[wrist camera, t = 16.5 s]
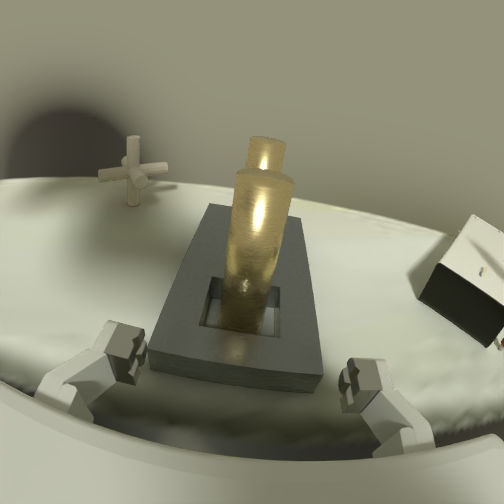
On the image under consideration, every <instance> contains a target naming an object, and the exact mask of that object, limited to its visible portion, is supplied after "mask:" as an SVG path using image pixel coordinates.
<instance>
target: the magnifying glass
mask: <svg viewBox="0 0 504 504" xmlns="http://www.w3.org/2000/svg"><path fill="white" fill-rule="evenodd" d="M503 349H504V338H503V339H502V341H501V345H500V346H499V350H500V351H501V350H503Z"/></svg>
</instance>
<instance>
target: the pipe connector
mask: <svg viewBox="0 0 504 504" xmlns="http://www.w3.org/2000/svg"><path fill="white" fill-rule="evenodd" d="M139 160H140V136H128V137H127V156H125V157H123V159H122V161H121V163H122V167H115V168H108V169H101V170H98V178H99V183H100V182H107V181H114V180H120V179H127V201H128V205H129V206H137V205H139V204H140V197H139V189H143V188H145V187H146V186H147V185H148V182H149V181H148V178H147V177H146V176H151V175H159V174H167V173H168V164H167V162H158V163H148V164H139Z"/></svg>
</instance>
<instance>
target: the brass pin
mask: <svg viewBox="0 0 504 504" xmlns="http://www.w3.org/2000/svg"><path fill="white" fill-rule="evenodd" d="M294 184H295V183H294V180H293V179H291V178H290V177H289V176H287V175H285V174H282V173H279V172H276V171H272V170H268V169H261V168H246V169H242V170H239V171H238V172H237V177H236V184H235V190H234V198H233V205H232V213H231V220H230V228H229V236H228V244H227V252H226V260H225V268H224V277H223V285H222V294H221V303H220V311H219V321H218V328H219V329H221V330H227V331H234V332H240V333H247V334H254V335H259V333H260V329H261V325H262V321H263V317H264V313H265V309H266V305H267V301H268V297H269V293H270V289H271V284H272V280H273V276H274V272H275V268H276V264H277V259H278V255H279V251H280V246H281V242H282V238H283V233H284V229H285V225H286V220H287V216H288V211H289V207H290V203H291V198H292V193H293V189H294Z"/></svg>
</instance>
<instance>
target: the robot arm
mask: <svg viewBox="0 0 504 504" xmlns="http://www.w3.org/2000/svg"><path fill="white" fill-rule="evenodd" d="M144 337H145V331H144V329H142V328H138V327H134V326H130V325H126V324H123V323H119V322H115V321H111V320H108V321H107V322H106V323H105V325H104V327H103V329H102V330H101V332H100V334H99V336H98V338H97V340H96V342H95V343H94V345H93V347H92V349H87V350H85V351H83V352H82V353H80V354H78V355H77V356H75V357H73V358H72V359H70V360H68V361H66V362H65V363H63V364H61V365H60V366H58V367H56V368H55V369H53V370H51V371H50V372H48V373H46V374H45V376H44V378H43V380H42V382H41V384H40V385H39V387H38V389H37V391H36V393H35V395H34V397H33V398H32V397H30V396H28V395H26V394H24V393H22V392H20V391H18V390H16V389H15V388H13V387H11V386H9V385H7V384H5V383H4V382H2V381H0V504H504V442H503V441H502V440H501V439H500V438H499V437H498V436H496V435H495V434H488V435H485V436H482V437H478V438H475V439H472V440H468V441H465V442H461V443H457V444H453V445H449V446H444V447H440V448H436V447H435V443H434V438H433V434H432V430H431V427H430V424H429V423H428V422H427V421H426V420H425V418H424V417H423V416H422V415H421V414H420V413H419V412H418V411H417V410H416V409H415V408H414V407H413V406H412V405H411V404H410V403H409V402H408V401H407V400H406V399H405V398H404V397H403V396H402V395H401V394H400V393H399V392H398V391H397V390H394V388H393V384H392V381H391V377H390V374H389V370H388V367H387V363H386V361H385V359H372V358H350V359H349V360H348V362H347V367H346V368H345V369H343V370H342V372H341V374H340V377H339V384H338V386H339V391H340V392H341V393H342V394H343V396H342V398H341V399H340V401H341V408H342V413H361V414H360V415H361V416H362V417H363V419H364V420H365V422H366V423H367V424H368V426H369V427H370V429H371V430H372V431H373V433H374V434H375V436H376V437H377V438H378V440H379V441H380V443H381V444H382V445H381V446H380V447H379V448H377V449H376V450H375V451H374V452H373V458H370V459H359V460H345V461H278V460H263V459H262V460H261V459H251V458H241V457H233V456H225V455H218V454H210V453H204V452H199V451H193V450H188V449H183V448H178V447H173V446H169V445H164V444H160V443H156V442H152V441H148V440H144V439H140V438H137V437H133V436H130V435H127V434H123V433H120V432H117V431H113V430H111V429H108V428H105V427H101V426H99V425H96V424H93V420H94V417H93V415H92V414H91V412H90V410H89V409H88V407H87V406H88V405H89V404H90V403H91V402H93V401H94V400H95V399H96V398H97V397H99V396H100V395H101V394H102V393H104V392H105V391H106V390H107V389H108V388H110V387H111V386H112V385H113V384H115V383H116V381H119V382H123V383H127V384H131V385H135V386H136V383H137V380H138V378H139V375H140V369H139V367H140V366H141V365H143V364H144V361H145V358H146V353H147V343H146V341H145V340H144Z"/></svg>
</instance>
